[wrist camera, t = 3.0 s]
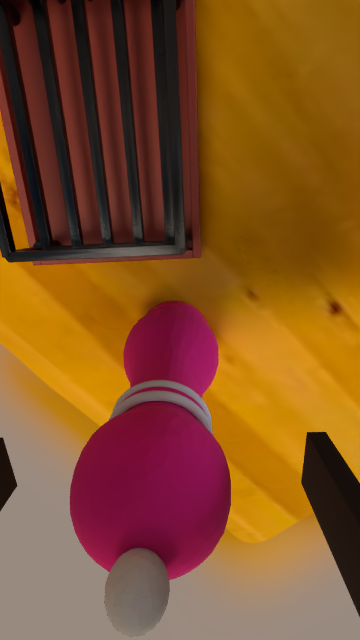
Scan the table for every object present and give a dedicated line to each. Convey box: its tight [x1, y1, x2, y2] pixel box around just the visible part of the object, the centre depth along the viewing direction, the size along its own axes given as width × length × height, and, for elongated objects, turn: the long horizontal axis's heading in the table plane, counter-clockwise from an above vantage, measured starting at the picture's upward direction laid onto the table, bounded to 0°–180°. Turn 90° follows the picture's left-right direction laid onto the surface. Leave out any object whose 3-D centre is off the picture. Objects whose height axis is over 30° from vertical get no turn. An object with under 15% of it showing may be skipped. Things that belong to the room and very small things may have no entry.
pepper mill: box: [70, 301, 231, 637], centre depth 16 cm, size 7×7×20 cm
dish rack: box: [0, 0, 201, 265], centre depth 15 cm, size 17×13×12 cm
